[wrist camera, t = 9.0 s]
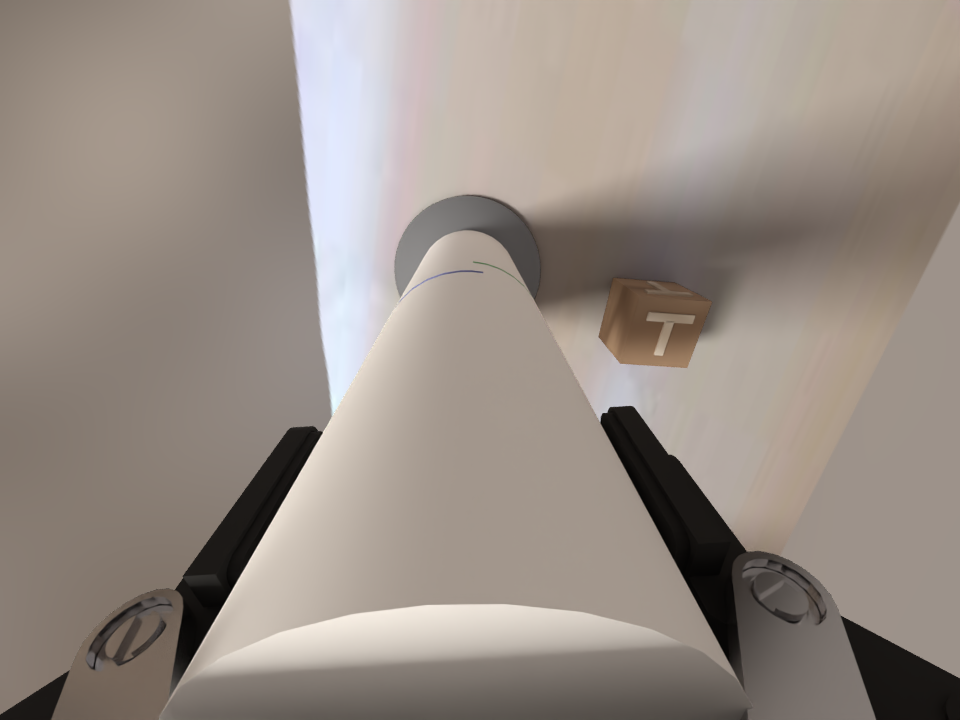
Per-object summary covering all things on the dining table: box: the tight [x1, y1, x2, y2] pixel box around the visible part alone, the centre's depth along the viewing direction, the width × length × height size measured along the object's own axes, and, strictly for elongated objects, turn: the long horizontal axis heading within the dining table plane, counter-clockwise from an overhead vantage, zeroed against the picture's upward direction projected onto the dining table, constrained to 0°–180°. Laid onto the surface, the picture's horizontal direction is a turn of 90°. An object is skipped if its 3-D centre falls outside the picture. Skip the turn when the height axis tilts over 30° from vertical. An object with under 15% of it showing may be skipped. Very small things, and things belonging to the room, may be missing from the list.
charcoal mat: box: [395, 196, 541, 299], centre depth 28 cm, size 11×11×1 cm
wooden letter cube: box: [599, 278, 712, 368], centre depth 27 cm, size 5×5×5 cm
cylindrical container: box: [159, 230, 753, 720], centre depth 16 cm, size 7×7×25 cm
